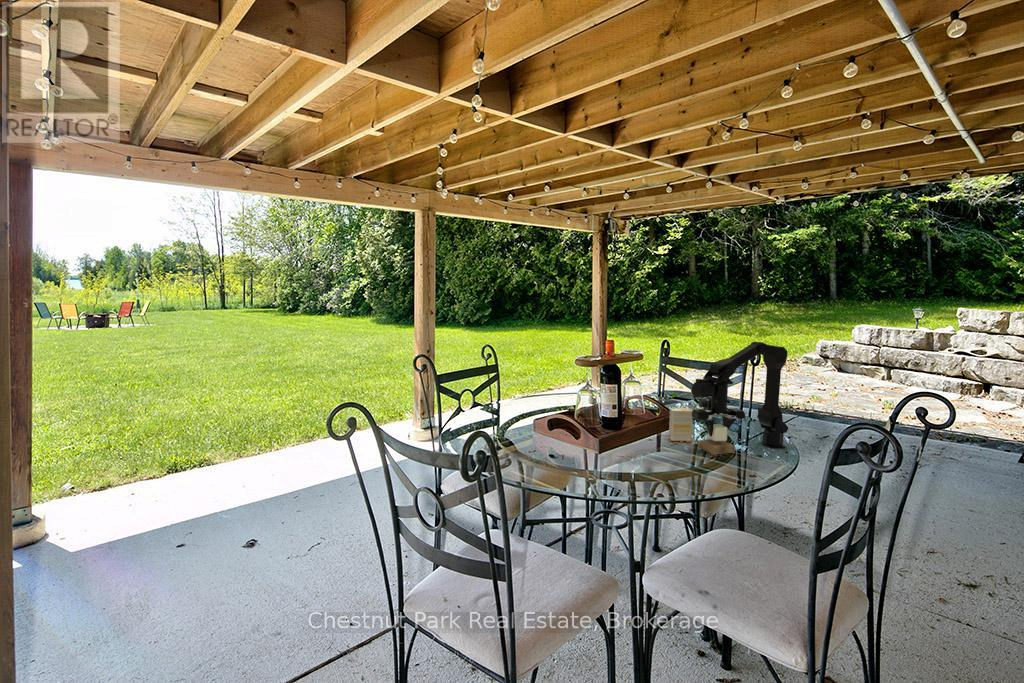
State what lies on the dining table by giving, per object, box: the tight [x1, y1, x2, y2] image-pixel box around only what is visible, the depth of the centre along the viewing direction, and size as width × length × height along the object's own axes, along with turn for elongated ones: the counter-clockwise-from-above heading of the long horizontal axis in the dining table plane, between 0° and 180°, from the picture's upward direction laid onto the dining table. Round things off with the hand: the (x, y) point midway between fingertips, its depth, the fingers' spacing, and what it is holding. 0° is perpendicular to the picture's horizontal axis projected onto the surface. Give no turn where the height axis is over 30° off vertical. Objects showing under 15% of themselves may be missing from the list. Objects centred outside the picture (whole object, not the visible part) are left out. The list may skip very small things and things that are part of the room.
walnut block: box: [698, 438, 736, 456], centre depth 195 cm, size 9×9×4 cm
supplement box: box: [668, 407, 694, 443], centre depth 207 cm, size 8×5×13 cm, turn 84°
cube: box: [707, 423, 728, 442], centre depth 194 cm, size 5×5×5 cm
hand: (717, 436), depth 194 cm, fingers closed on cube, 5 cm apart
